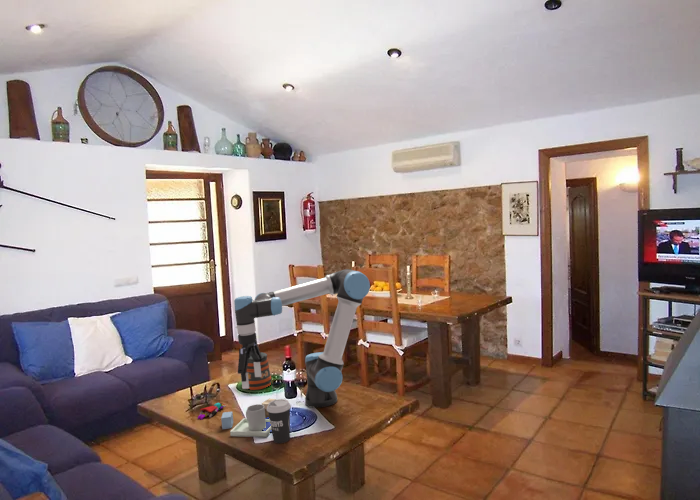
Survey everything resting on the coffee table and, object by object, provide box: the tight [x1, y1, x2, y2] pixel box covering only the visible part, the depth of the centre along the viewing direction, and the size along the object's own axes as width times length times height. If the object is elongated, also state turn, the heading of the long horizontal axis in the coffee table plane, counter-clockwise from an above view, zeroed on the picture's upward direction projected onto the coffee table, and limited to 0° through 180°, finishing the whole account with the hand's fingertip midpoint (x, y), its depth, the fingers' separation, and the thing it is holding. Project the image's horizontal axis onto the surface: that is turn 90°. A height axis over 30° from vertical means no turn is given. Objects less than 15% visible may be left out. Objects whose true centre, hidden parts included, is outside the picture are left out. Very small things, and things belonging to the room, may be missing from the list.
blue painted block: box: [220, 411, 234, 430], centre depth 215 cm, size 4×6×5 cm, turn 7°
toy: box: [197, 402, 227, 421], centre depth 231 cm, size 8×4×15 cm
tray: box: [229, 417, 271, 438], centre depth 209 cm, size 16×13×2 cm
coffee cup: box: [267, 398, 292, 444], centre depth 197 cm, size 10×10×15 cm
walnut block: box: [264, 405, 269, 418], centre depth 221 cm, size 5×5×5 cm
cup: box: [245, 403, 266, 431], centre depth 209 cm, size 7×10×9 cm
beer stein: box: [246, 351, 273, 391], centre depth 264 cm, size 19×15×20 cm
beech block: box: [261, 398, 277, 405], centre depth 230 cm, size 6×4×4 cm, turn 153°
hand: (252, 382), depth 211 cm, fingers open, 13 cm apart
